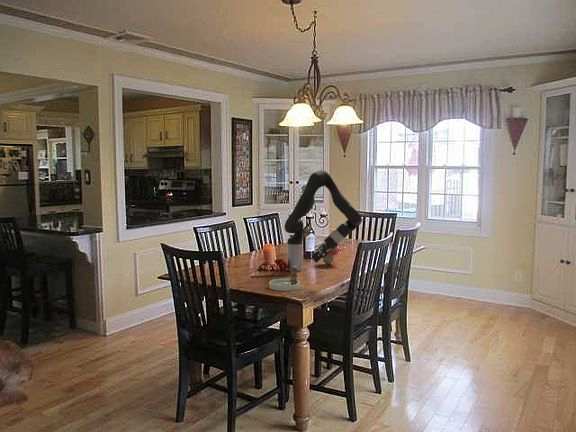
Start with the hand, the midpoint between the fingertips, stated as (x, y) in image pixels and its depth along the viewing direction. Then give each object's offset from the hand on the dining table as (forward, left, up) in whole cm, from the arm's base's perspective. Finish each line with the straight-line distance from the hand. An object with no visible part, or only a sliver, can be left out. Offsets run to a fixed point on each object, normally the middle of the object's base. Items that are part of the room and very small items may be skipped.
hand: (313, 259), depth 283 cm
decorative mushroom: (-57, -13, -15) cm, 61 cm away
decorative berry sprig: (-14, -35, -15) cm, 40 cm away
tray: (+10, -13, -15) cm, 22 cm away
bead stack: (+7, -9, -13) cm, 18 cm away
